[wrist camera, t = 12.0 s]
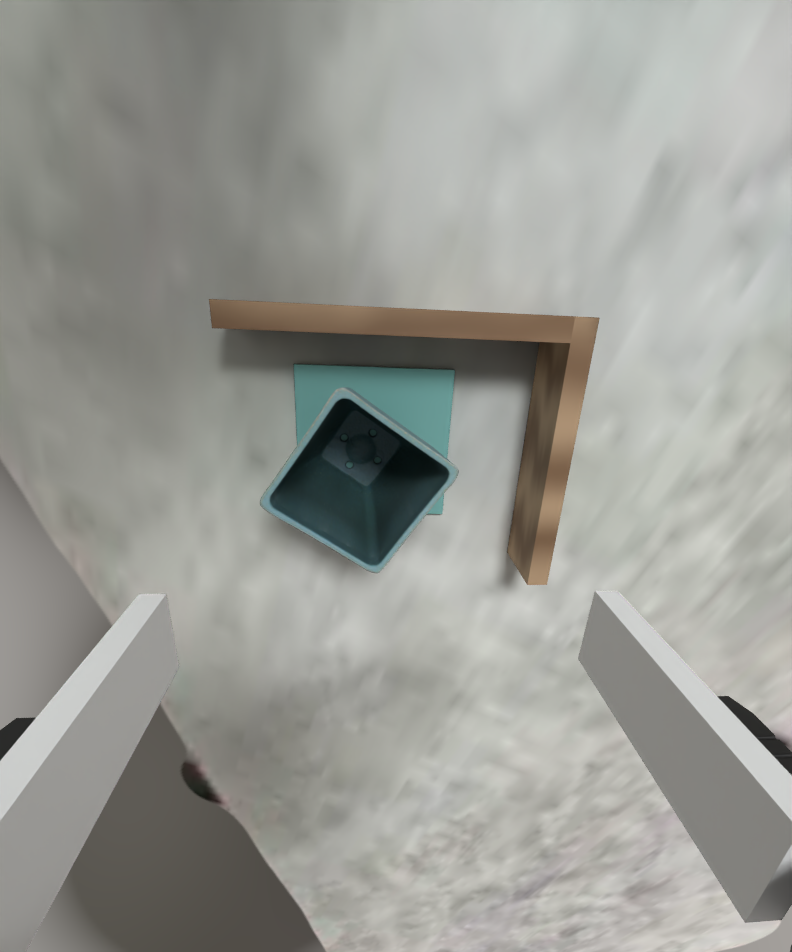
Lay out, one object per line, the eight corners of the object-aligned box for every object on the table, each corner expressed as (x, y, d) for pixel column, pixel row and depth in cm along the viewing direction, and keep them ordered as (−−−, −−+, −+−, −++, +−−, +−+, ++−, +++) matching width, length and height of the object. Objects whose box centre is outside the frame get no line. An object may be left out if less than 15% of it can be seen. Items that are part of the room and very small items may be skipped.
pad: (294, 363, 31) (293, 364, 30) (453, 369, 32) (454, 370, 31) (300, 510, 35) (300, 512, 34) (441, 511, 36) (442, 513, 35)
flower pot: (346, 366, 31) (338, 383, 22) (438, 433, 33) (463, 471, 24) (283, 459, 33) (255, 506, 24) (374, 516, 35) (377, 577, 27)
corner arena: (234, 303, 29) (209, 299, 24) (563, 318, 31) (599, 317, 26) (255, 552, 36) (239, 586, 31) (524, 552, 38) (546, 584, 33)
